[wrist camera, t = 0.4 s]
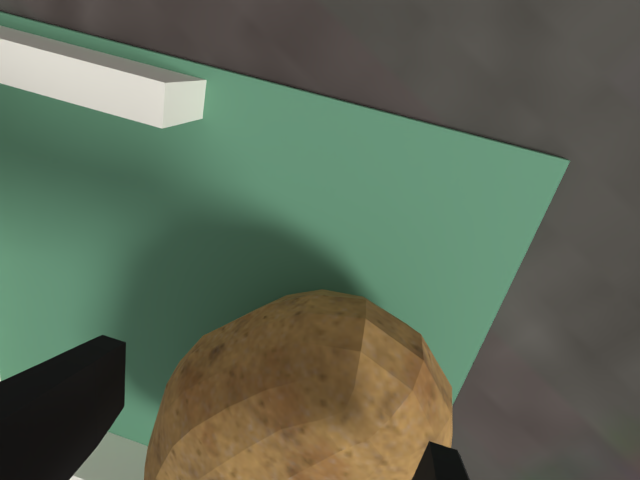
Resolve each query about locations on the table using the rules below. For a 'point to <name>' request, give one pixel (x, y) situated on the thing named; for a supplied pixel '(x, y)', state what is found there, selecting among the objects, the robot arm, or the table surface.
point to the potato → (302, 397)
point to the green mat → (246, 220)
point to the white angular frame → (113, 98)
